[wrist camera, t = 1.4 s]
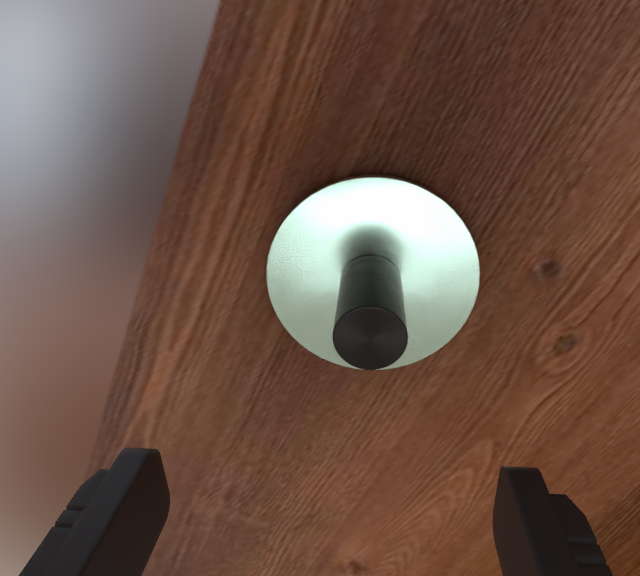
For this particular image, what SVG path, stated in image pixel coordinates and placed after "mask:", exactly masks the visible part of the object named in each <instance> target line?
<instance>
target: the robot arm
mask: <svg viewBox="0 0 640 576" xmlns="http://www.w3.org/2000/svg"><path fill="white" fill-rule="evenodd" d="M169 506H170V493H169V489H168V485H167V480H166V476H165V472H164V468H163V464H162V459H161V455H160V453H159V451H158V450H157V449H143V448H125V449H123V450H122V451H121V452H120V454H119V455H118V457H117V458H116V460H115V462H114V463H113V465H112V466H111V468H110V469H109V470H102V469H100V470H99V471H98V472H97V473H96V474H94V475H93V476H92V477H91V478H90V479H88V480H87V481H86V482H85V483H84V484H82V485H81V486H80V488H79V489H78V491H77V492H76V493H75V495H74V497H73V498H72V500H71V501H70V502H69V504H68V505H67V509H66V510H64V511H63V512H62V514H61V515H60V517H59V518H58V520H57V521H56V523H55V527H52V528H51V530H50V531H49V533H48V534H47V536H46V537H45V539H44V540H43V541H42V543H41V545H40V546H39V547H38V549H37V550H36V552H35V553H34V555H33V556H32V557H31V559H30V560H29V562H28V563H27V565H26V566H25V568H24V569H23V571H22V572H21V573H20V575H19V576H141V575H142V573H143V571H144V569H145V566H146V564H147V562H148V560H149V558H150V555H151V553H152V551H153V549H154V546H155V544H156V542H157V540H158V538H159V535H160V533H161V531H162V529H163V526H164V524H165V522H166V519H167V516H168V512H169ZM493 533H494V540H495V545H496V549H497V553H498V557H499V561H500V565H501V569H502V573H503V576H613V575H612V573H611V571H610V568H609V566H607V565H606V560H605V558H604V555H603V553H602V551H601V549H600V547H599V545H597V543H596V538H595V536H594V534H593V531H592V529H591V527H590V525H589V523H588V521H587V518H586V516H585V515H584V514H583V513H582V512H581V511H580V510H579V509H578V507H577V506H576V505H575V504H574V503H573V502H572V501H571V500H570V499H569V498H568V497H567V496H566V495H561V494H549V492H548V489H547V487H546V484H545V482H544V479H543V477H542V475H541V472H540V471H539V469H537V468H529V467H507V466H502V467H501V469H500V472H499V479H498V485H497V491H496V497H495V504H494V510H493Z"/></svg>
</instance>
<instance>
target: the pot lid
mask: <svg viewBox="0 0 640 576" xmlns="http://www.w3.org/2000/svg"><path fill="white" fill-rule="evenodd" d="M266 279H267V287H268V293H269V297H270V300H271V303H272V306H273V308H274V310H275V312H276V315H277V317H278V318H279V320H280V321H281V323H282V324H283V326H284V327H285V329H286V330H287V331H288V332H289V333H290V335H291V336H292V337H293V338H294V339H295V340H296V341H297V342H299V343H300V344H301V345H302V346H303V347H305V348H306V349H307V350H309V351H310V352H312V353H314V354H315V355H317V356H319V357H320V358H323V359H325V360H327V361H329V362H332V363H335V364H338V365H341V366H344V367H349V368H355V369H363V370H384V369H392V368H397V367H401V366H405V365H409V364H411V363H414V362H417V361H419V360H421V359H423V358H425V357H427V356H429V355H431V354H433V353H434V352H436V351H437V350H439V349H440V348H442V347H443V346H444V345H445V344H447V343H448V342H449V341H450V340H451V339H452V338H453V337H454V336H455V335H456V334H457V333H458V332H459V330H460V329H461V328H462V326H463V325H464V323H465V322H466V321H467V319H468V317H469V315H470V313H471V311H472V309H473V307H474V304H475V301H476V298H477V294H478V289H479V284H480V264H479V256H478V252H477V248H476V245H475V242H474V240H473V238H472V235H471V233H470V231H469V229H468V227H467V226H466V224H465V223H464V221H463V219H462V218H461V216H460V215H459V214H458V213H457V212H456V210H455V209H454V208H453V207H452V206H451V205H450V204H449V203H448V202H447V201H445V200H444V199H443V198H442V197H441V196H439V195H438V194H436V193H435V192H433V191H432V190H430V189H428V188H426V187H424V186H422V185H420V184H418V183H416V182H413V181H410V180H407V179H404V178H400V177H395V176H389V175H376V174H369V175H357V176H352V177H347V178H342V179H340V180H337V181H334V182H331V183H328V184H326V185H324V186H322V187H320V188H318V189H316V190H315V191H313V192H312V193H310V194H309V195H308V196H306V197H305V198H303V199H302V200H301V201H300V202H299V203H298V204H297V205H296V206H295V207H294V208H293V209H292V210H291V211H290V212H289V214H288V215H287V216H286V217H285V219H284V220H283V222H282V223H281V225H280V227H279V228H278V230H277V232H276V234H275V237H274V239H273V241H272V243H271V247H270V250H269V254H268V259H267V267H266Z"/></svg>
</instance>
